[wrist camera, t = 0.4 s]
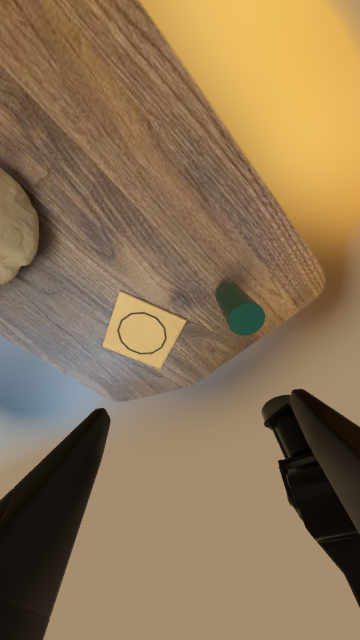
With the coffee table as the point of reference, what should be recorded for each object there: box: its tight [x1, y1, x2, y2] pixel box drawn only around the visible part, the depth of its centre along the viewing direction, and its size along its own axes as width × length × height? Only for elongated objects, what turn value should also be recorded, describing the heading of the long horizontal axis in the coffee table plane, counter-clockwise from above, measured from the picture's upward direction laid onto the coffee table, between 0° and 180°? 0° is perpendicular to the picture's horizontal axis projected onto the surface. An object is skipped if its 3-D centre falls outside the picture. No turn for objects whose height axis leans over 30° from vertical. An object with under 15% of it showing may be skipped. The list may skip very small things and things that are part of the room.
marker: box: [216, 282, 265, 335], centre depth 19 cm, size 3×3×8 cm
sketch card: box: [102, 291, 186, 369], centre depth 26 cm, size 10×10×1 cm
